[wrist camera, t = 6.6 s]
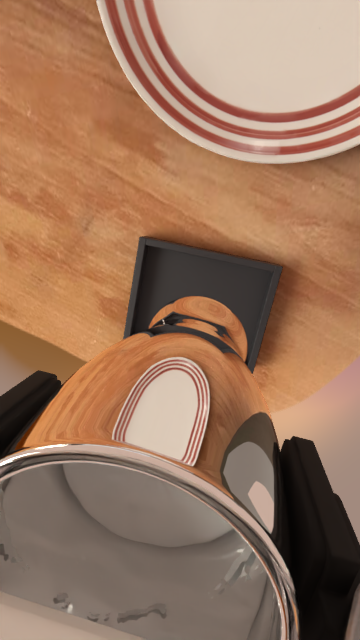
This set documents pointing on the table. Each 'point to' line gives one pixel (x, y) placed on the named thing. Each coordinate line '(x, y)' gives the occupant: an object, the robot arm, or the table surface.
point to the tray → (202, 286)
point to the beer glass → (155, 490)
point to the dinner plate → (245, 72)
